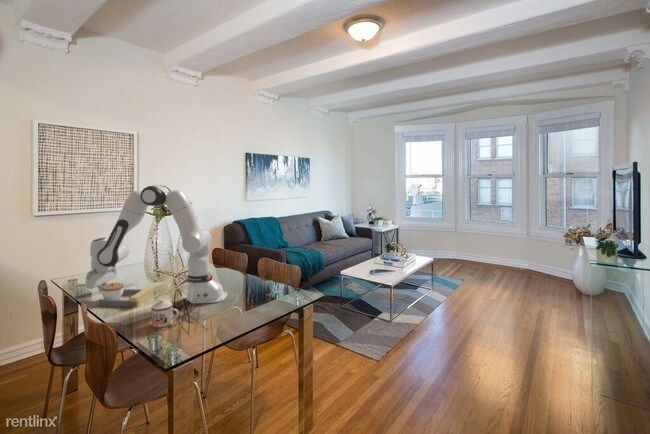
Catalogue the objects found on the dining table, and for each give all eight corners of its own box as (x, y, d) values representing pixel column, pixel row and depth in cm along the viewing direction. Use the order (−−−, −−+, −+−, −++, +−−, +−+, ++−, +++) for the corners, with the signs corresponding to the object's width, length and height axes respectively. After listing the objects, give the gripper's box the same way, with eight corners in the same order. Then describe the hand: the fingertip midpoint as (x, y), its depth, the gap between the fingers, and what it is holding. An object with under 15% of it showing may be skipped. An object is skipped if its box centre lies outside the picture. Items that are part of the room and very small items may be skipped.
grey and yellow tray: (155, 294, 196) (155, 286, 196) (137, 306, 178) (136, 297, 178) (120, 293, 197) (120, 285, 196) (98, 305, 179) (98, 296, 179)
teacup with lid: (148, 328, 155) (147, 303, 153) (157, 319, 164) (156, 296, 162) (175, 327, 155) (174, 303, 154) (182, 319, 164) (181, 296, 163)
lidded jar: (100, 297, 189) (100, 281, 188) (123, 294, 195) (122, 279, 194) (102, 304, 181) (101, 287, 179) (125, 300, 187) (124, 284, 186)
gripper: (92, 272, 176) (94, 298, 177) (118, 262, 196) (119, 285, 198) (81, 272, 176) (82, 297, 178) (107, 262, 196) (109, 284, 198)
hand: (102, 291), depth 188 cm, fingers closed, pressing on lidded jar
